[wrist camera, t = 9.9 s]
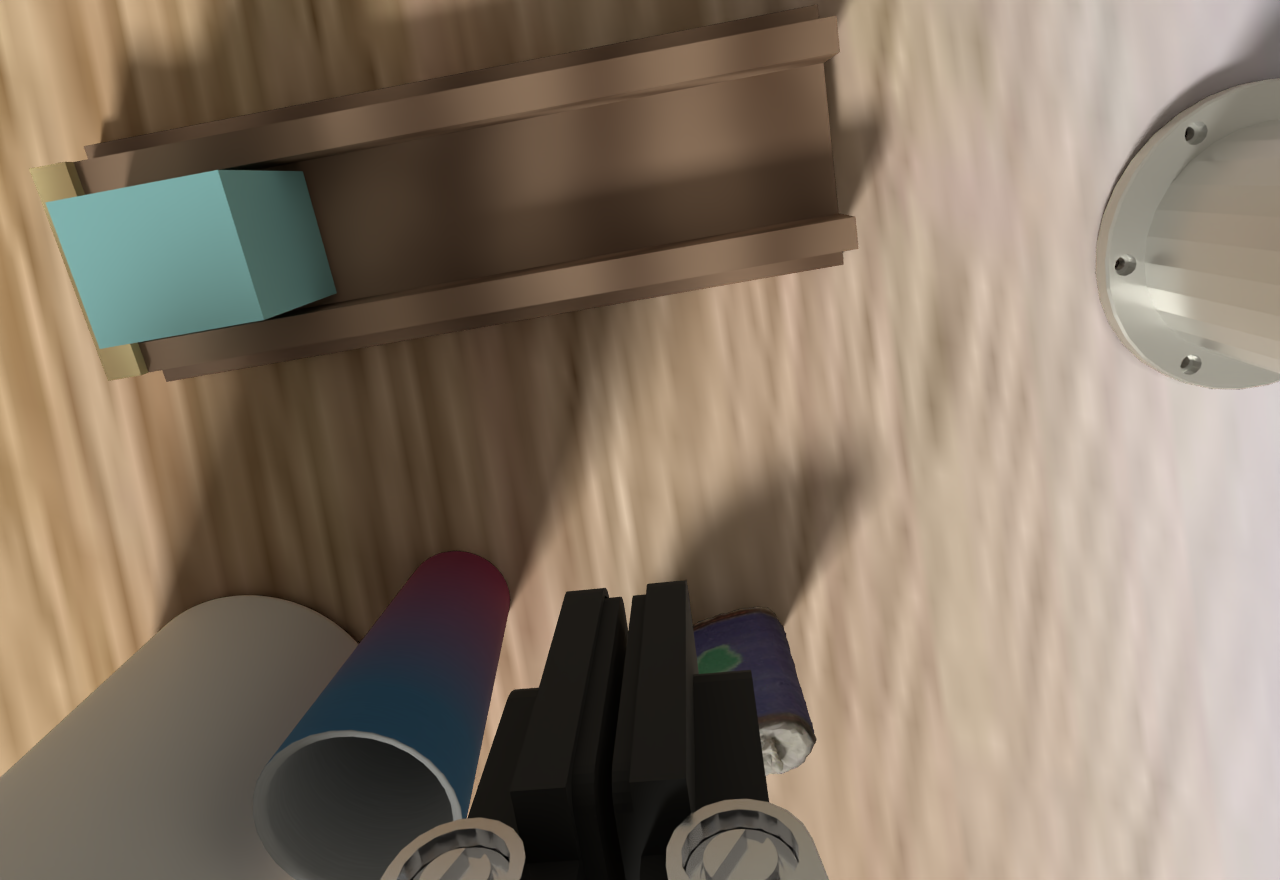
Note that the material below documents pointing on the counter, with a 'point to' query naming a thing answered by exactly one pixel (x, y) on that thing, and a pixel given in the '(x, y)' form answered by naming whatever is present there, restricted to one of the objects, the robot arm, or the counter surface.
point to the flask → (761, 679)
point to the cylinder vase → (171, 751)
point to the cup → (390, 730)
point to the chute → (521, 188)
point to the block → (193, 253)
